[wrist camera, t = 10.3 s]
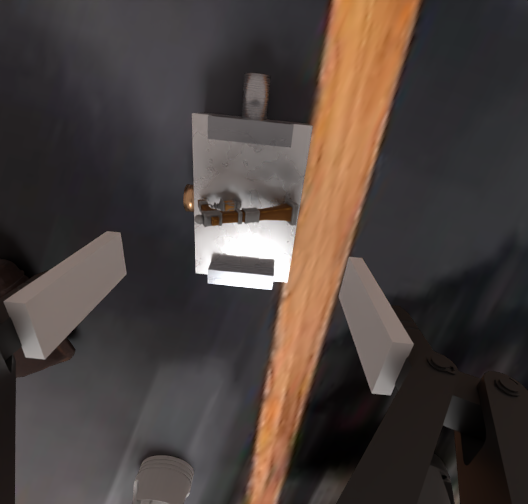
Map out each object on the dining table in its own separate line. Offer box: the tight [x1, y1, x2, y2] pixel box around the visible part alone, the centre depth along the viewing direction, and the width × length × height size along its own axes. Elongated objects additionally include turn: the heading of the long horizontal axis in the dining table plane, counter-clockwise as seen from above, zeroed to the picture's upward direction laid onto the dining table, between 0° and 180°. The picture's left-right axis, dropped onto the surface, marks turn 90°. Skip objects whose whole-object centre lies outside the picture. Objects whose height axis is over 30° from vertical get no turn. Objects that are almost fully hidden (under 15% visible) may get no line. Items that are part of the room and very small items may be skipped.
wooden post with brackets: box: [194, 198, 299, 227], centre depth 22 cm, size 2×8×4 cm, turn 86°
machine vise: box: [184, 73, 313, 290], centre depth 24 cm, size 10×17×6 cm, turn 174°
